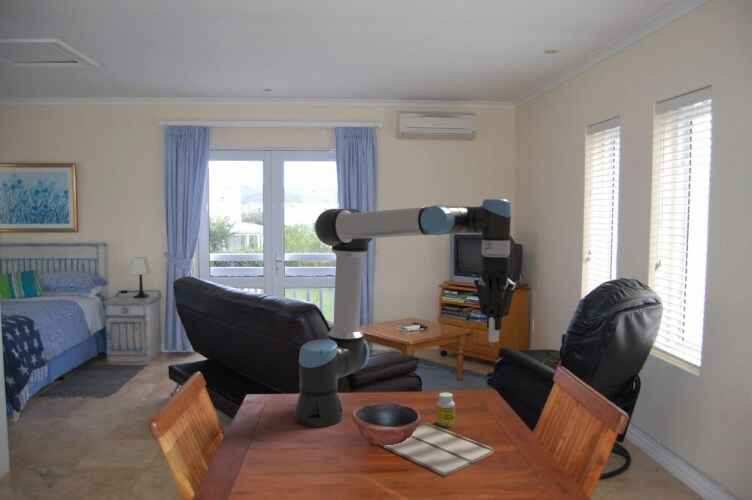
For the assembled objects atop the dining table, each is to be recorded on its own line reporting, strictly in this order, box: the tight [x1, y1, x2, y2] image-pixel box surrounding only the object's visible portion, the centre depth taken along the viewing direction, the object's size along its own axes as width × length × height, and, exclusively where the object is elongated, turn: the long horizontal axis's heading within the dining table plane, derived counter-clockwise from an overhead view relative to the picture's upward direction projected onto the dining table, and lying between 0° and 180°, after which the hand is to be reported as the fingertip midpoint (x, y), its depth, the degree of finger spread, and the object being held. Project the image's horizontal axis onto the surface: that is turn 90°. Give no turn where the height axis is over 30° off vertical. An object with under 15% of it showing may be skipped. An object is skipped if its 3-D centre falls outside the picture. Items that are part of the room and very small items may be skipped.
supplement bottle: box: [436, 392, 456, 428], centre depth 164 cm, size 5×5×10 cm
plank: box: [411, 421, 495, 465], centre depth 150 cm, size 24×9×2 cm, turn 42°
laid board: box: [383, 437, 472, 477], centre depth 144 cm, size 24×10×2 cm, turn 42°
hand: (493, 341), depth 152 cm, fingers closed
